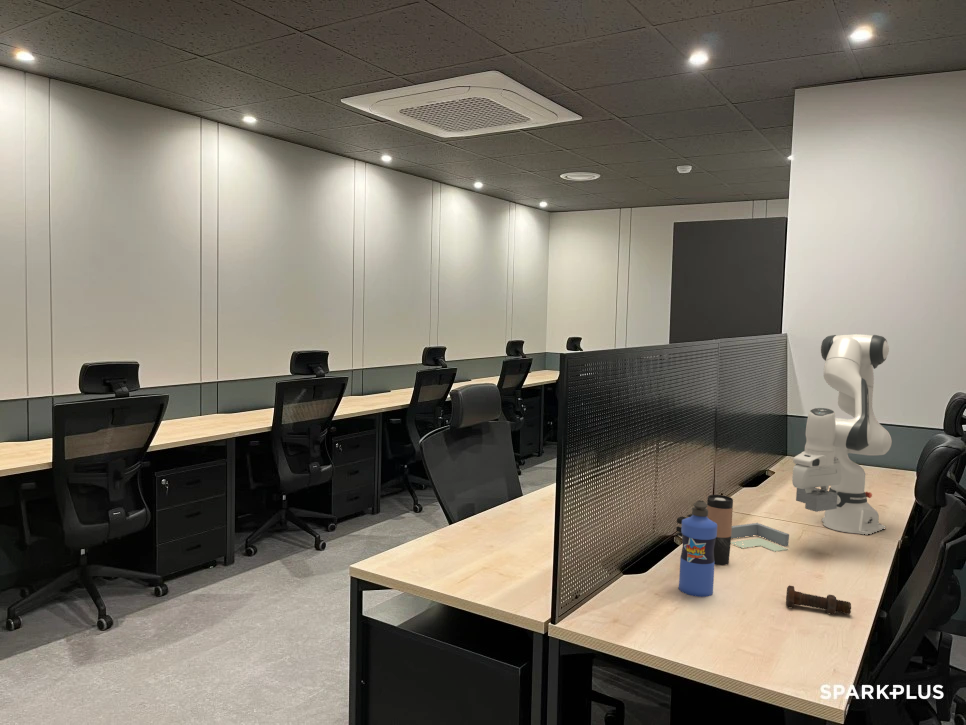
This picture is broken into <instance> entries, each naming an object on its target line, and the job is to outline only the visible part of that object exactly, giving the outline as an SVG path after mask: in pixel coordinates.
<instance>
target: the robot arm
mask: <svg viewBox="0 0 966 725" xmlns="http://www.w3.org/2000/svg"><path fill="white" fill-rule="evenodd" d="M889 347H890V346H889V344H888V340H887V338H885V337H884V336H883V335H879V334H878V335H877V334H873V335H871V334H862V333H861V334H860V333H854V334H840V335H836V334H832V335H828V336H826V337H825V338H824V339H823V340H822V341H821V345H820V354H821V358H822V359H823V360H824V362H825V363H824V367H823V379H824V380H825V382H826V383H827V384H828V385H829V386H830V387H831V388H832V389H833V390H835V391H838V397H837V405H838V407H839V409H840V410H841V411H843V412H844V413H846V414H848V415H850V416H851V417H853V418H850V419H849V418H840V417H836V415H835V414H836V413H835V411H834V410H832V409H830V408H825V407H817V408H816V407H815V408H812V409H810V410H809V413H808V415H807V420H806V426H805V427H806V428H805V439H806V442H805V444H804V451H801V453H799V454H797V455H795V456H794V457H793V459H792V460H793V463H794V464H795V465H794V466H793V467H792V468H793V469H792V476H791V477H792V478H791V479H792V485H793V487H794V488H796V489H797V488H800V489H805V491H806V493H812V491H813V489H814V488H819V489H822V490H826V491H830V492H834V493H838V495H837V509H831V510H825V511H824V517H822V518H821V522H823V526H824V527H826V528H828V529H830V530H833V531H837V532H843V533H849V534H857V535H864V534H865V535H864V536H869V535H868V534H870V535H872V533H873V534H875V533H874V532H876V533H878V532H877V531H879V530H882V529H884V528H886V526H885V525H884V524H882V523H880V522H879V517H880V516H879V513H878V512H879V511H877V510H876V509H875V508H874V507H873V506H872V505H871V504H870V503H869V502H868V499H867V498H869V499H872V497H873V493H872V492H868V491H865V488H866V487H865V486H866V476H867V475H866V471H865V469H864V468H863V467H862V466H861V465H859V464H858V463H856V462H854V461H853V460H852V459H850V457H849V454H852V455H853V454H856V455H861V456H862V455H863V456H884V455H886V454H887V453H888V452H889V451H890V449H891V447H892V443H893V442H892V437H891V435H890V432H889V431H888V430H887V429H886V428H885V427H884V426H883V425H882V424H881V423H879V421H878V420H877V418H876V416H875V414H874V410H873V409H874V408H873V392H874V383H875V382H874V380H875V378H874V377H875V376H874V369H877V368H878V366H879V365H882V364H883V363H884V362H885V361H886V360H887V357H888V355H889V352H890V348H889ZM886 529H887V528H886ZM882 531H883V530H882ZM879 532H880V531H879Z"/></svg>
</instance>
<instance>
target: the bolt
mask: <svg viewBox="0 0 966 725" xmlns="http://www.w3.org/2000/svg"><path fill="white" fill-rule="evenodd" d="M785 597H786V598H785V605H786V607H787V608H789V607H792V608H791V609H794V605H795V606H804V607H810V608H813V609H814V608H815V609H819V610H825V612H826V611H827V612H826V613H827V614H828V613H830V614H829V615H833V614H834V615H835V614H836V613H839V614H845V615H850V614H851V613H852V611H851V610H852V603H851V602H850V601H848V600H842V599H837V596H835V595H833V594H827V596H825V597H824V596H820V595H816V594H815V595H814V594H810V593H806V592H801V591H797V590H795V586H794V585H791V584H789V585H788V586H787V587H786V596H785Z"/></svg>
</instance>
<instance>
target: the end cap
mask: <svg viewBox="0 0 966 725" xmlns="http://www.w3.org/2000/svg"><path fill="white" fill-rule="evenodd" d="M692 515H693V514H692V513H690V514H686V517H685V516H679V517H677V518H676V524H679V525H682V520H683V519H685V518H689V517H691V516H692ZM681 527H682V526H676V528H675V530H676V531H675V532H676V536H678V537H681V538H682V533H681Z"/></svg>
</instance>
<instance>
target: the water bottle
mask: <svg viewBox="0 0 966 725" xmlns="http://www.w3.org/2000/svg"><path fill="white" fill-rule="evenodd" d="M692 505H693V507H692V509H691V514H693V515H692V516H691V517H686V518H685V519H683V520H682V524H681V526H680V527H681V533H682V537H681V539H682V540H681V541H682V542H681V543H682V548H681V555H680V559H679V561H680V562H679V575H678V576H679V577H678V590H679V592H682V593H683V594H685V595H688V596H691V597H698V598H700V597H701V598H705V597H710V596H712V595H713V594H714V580H715V579H714V578H715V565H716V564H715V561H714V545H715V540H716V537H717V524H716V523H715V522H713V521H712V520H710V519H708V517H707V516H708V509H707V507H708V506H707V503H706V502H705V501H704V500H697V501H695V502H694V503H693V504H692Z"/></svg>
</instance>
